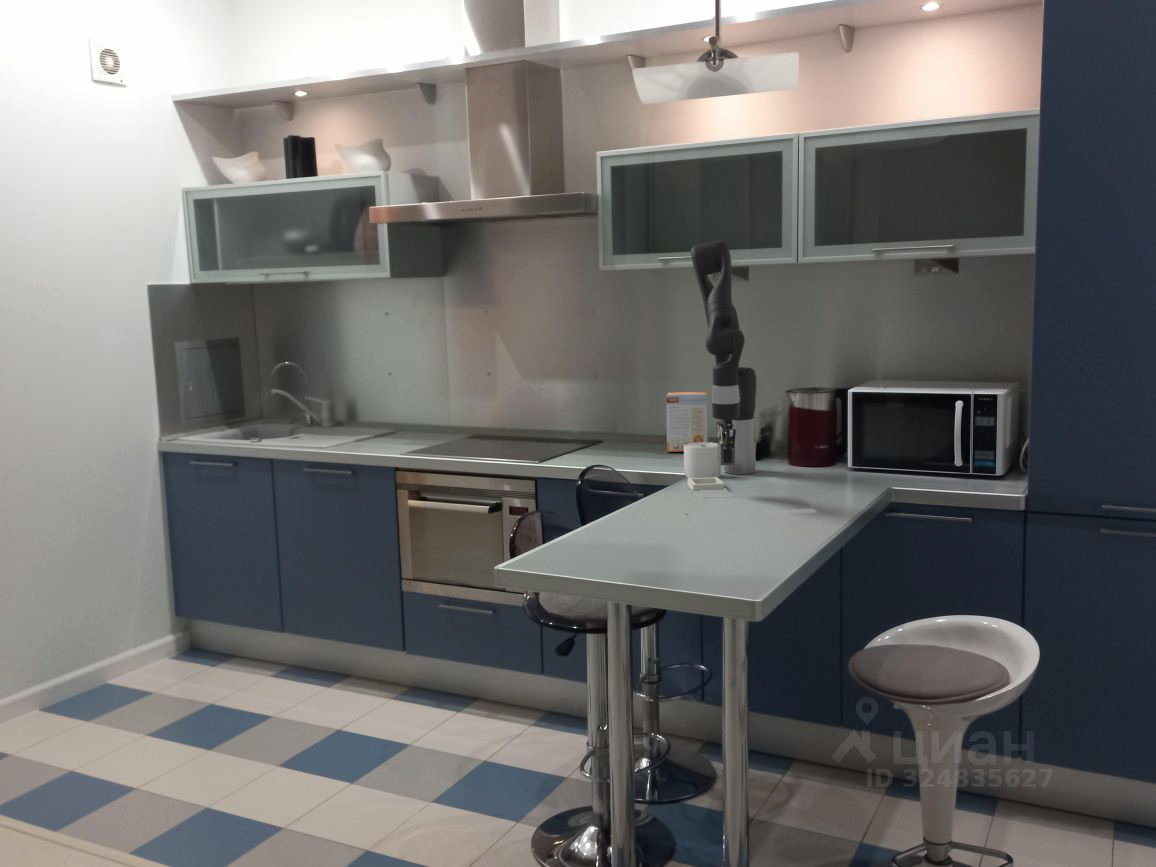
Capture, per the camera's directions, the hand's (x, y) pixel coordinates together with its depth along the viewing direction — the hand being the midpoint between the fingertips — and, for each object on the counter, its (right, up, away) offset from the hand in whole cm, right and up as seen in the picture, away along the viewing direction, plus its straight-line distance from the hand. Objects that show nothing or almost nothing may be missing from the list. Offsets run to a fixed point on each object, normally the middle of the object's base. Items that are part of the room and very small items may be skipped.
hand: (726, 460), depth 291 cm
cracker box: (-3, +1, +72) cm, 72 cm away
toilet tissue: (-3, -6, +30) cm, 31 cm away
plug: (0, -1, 0) cm, 1 cm away
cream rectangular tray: (-4, -10, +6) cm, 12 cm away
